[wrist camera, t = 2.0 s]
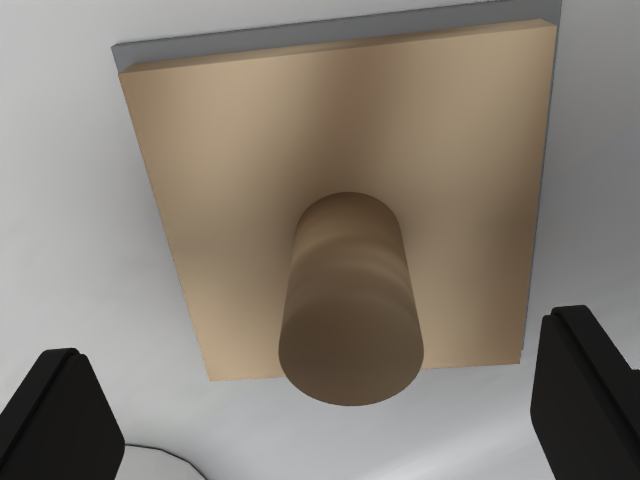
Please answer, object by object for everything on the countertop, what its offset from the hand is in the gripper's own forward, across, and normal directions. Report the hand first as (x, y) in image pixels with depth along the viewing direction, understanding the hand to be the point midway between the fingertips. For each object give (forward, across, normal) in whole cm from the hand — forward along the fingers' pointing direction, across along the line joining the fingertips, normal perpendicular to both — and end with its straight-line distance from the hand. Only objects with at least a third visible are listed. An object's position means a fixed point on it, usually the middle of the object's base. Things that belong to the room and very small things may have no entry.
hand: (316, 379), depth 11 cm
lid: (+7, -1, 0) cm, 7 cm away
